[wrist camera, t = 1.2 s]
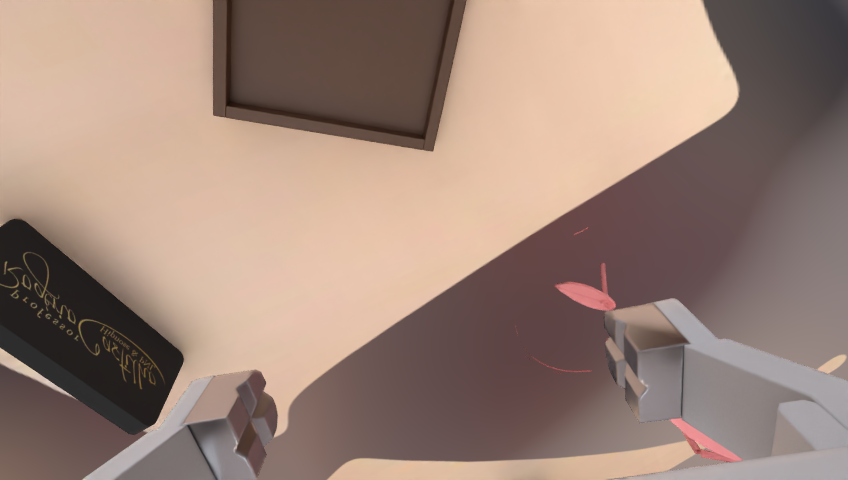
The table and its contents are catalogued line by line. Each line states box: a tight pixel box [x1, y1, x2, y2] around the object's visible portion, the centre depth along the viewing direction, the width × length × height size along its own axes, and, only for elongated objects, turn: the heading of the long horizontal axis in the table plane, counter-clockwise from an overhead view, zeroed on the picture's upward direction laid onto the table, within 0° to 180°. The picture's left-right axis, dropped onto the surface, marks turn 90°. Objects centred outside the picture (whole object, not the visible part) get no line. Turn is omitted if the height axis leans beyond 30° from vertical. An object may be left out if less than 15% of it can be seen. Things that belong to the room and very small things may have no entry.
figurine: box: [540, 228, 743, 462], centre depth 41 cm, size 15×26×35 cm, turn 38°
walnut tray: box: [213, 0, 467, 151], centre depth 37 cm, size 19×15×2 cm
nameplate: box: [0, 219, 184, 435], centre depth 42 cm, size 21×2×10 cm, turn 29°
